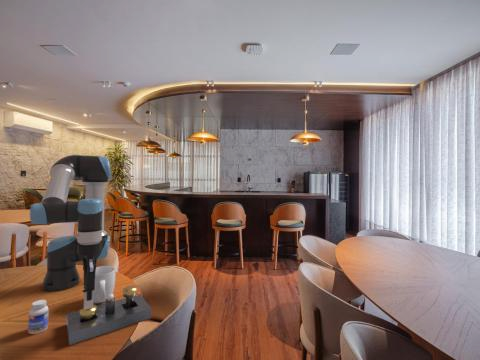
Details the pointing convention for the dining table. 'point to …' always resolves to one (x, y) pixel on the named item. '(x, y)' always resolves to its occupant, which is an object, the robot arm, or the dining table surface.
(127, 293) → the far knob
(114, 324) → the mount plate
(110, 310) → the pot post
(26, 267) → the dining table surface
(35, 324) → the pill bottle
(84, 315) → the near knob
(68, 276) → the robot arm
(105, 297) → the mug
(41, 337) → the dining table surface
